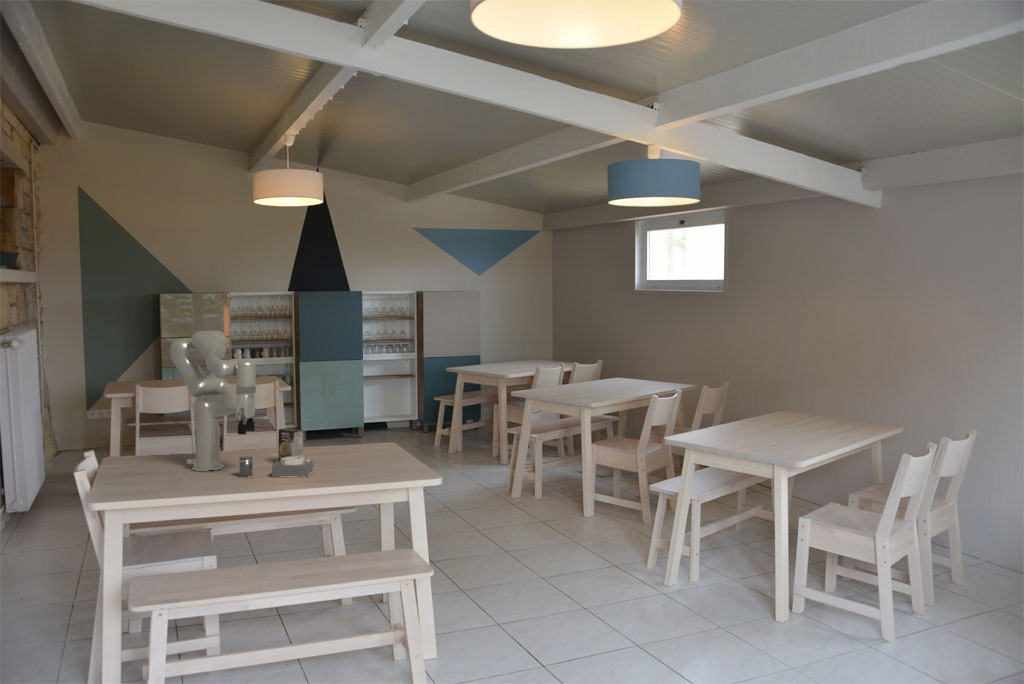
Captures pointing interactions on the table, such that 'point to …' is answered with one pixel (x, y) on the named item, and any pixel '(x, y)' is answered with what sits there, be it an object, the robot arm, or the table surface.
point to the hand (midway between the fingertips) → (246, 432)
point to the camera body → (292, 466)
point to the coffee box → (290, 442)
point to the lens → (245, 466)
